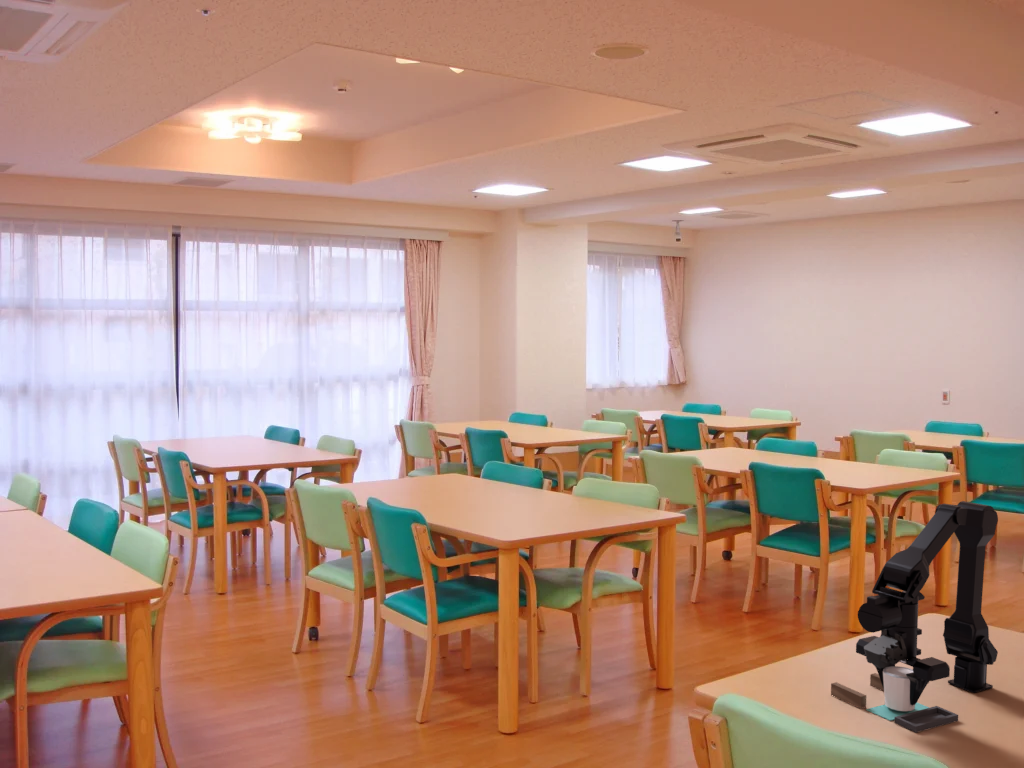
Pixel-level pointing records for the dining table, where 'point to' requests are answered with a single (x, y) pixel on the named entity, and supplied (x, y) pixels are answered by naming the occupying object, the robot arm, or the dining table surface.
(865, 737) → the dining table surface
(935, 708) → the trap pit
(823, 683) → the dining table surface
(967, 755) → the dining table surface
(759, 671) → the dining table surface
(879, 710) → the teal pad
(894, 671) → the white cup
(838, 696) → the brown bar
